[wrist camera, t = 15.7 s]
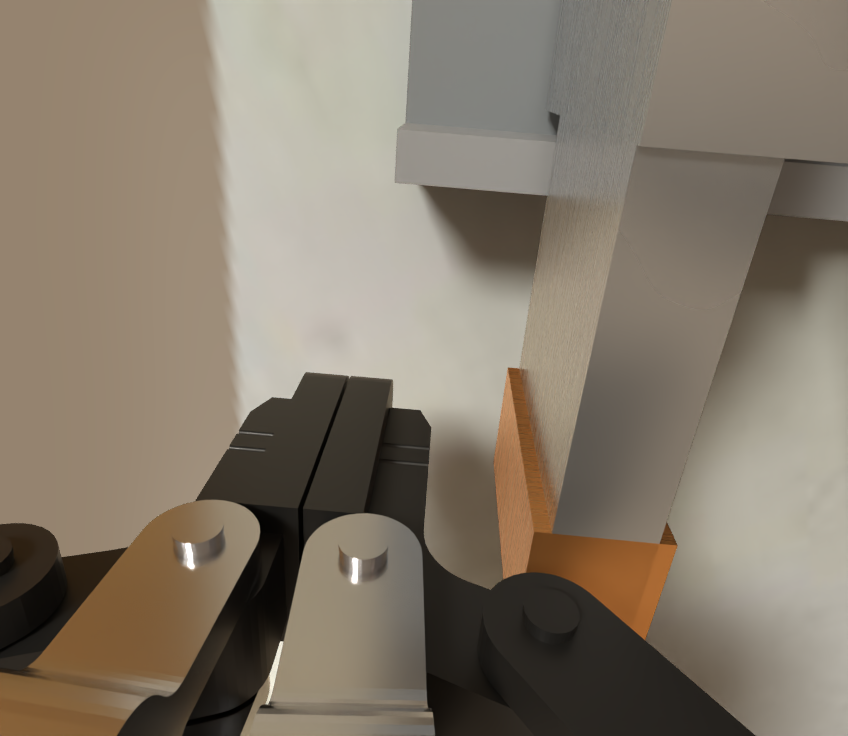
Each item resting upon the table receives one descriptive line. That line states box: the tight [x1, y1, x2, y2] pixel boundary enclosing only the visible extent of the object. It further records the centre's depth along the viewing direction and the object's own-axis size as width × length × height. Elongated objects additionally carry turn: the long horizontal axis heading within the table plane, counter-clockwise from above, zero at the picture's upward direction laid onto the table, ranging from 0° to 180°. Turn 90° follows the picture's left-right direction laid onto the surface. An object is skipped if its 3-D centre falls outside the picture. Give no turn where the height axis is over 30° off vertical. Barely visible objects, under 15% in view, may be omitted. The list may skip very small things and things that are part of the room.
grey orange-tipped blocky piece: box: [494, 0, 848, 640], centre depth 7 cm, size 2×12×6 cm, turn 176°
